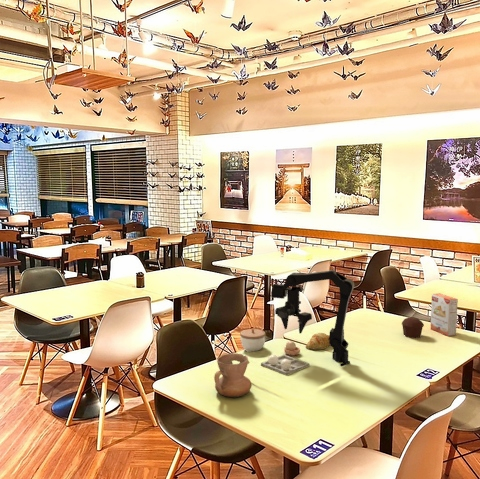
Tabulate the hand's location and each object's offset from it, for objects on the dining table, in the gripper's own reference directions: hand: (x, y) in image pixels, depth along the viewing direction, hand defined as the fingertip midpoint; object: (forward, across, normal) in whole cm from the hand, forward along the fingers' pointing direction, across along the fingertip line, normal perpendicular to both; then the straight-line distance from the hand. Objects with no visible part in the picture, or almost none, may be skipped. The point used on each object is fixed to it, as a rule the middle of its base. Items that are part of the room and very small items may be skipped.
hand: (292, 331), depth 220 cm
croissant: (+13, 0, +22) cm, 25 cm away
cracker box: (+13, +34, +90) cm, 97 cm away
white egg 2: (+11, +11, -18) cm, 24 cm away
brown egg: (+10, 0, 0) cm, 10 cm away
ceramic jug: (+13, +10, -48) cm, 51 cm away
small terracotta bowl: (+12, 0, 0) cm, 13 cm away
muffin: (+13, +25, +72) cm, 77 cm away
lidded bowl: (+13, -19, -8) cm, 24 cm away
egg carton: (+12, +7, -14) cm, 20 cm away
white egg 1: (+11, +4, -18) cm, 21 cm away
